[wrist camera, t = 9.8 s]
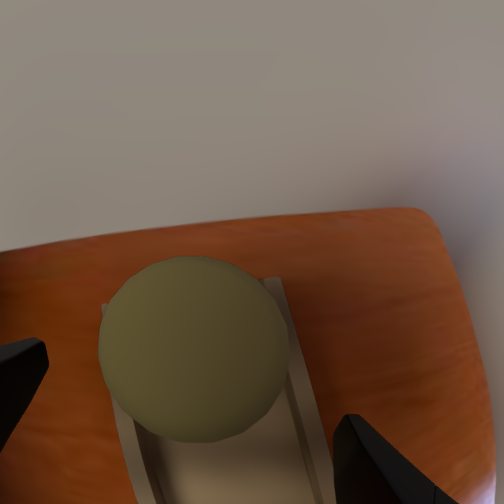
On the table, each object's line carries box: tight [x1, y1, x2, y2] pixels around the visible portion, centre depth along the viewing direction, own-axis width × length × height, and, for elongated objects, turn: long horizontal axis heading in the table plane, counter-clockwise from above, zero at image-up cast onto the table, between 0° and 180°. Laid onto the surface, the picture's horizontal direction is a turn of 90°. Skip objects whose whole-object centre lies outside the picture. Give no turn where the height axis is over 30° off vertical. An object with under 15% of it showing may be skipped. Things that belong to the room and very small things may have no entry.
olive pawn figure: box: [98, 256, 290, 443], centre depth 11 cm, size 6×6×11 cm
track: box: [102, 276, 336, 504], centre depth 13 cm, size 20×10×3 cm, turn 14°
